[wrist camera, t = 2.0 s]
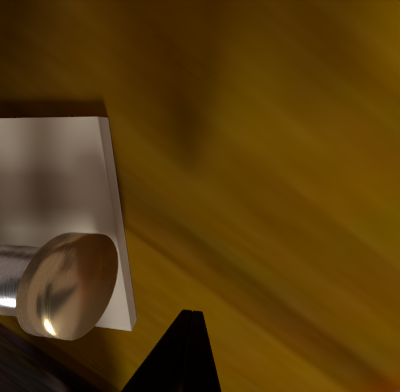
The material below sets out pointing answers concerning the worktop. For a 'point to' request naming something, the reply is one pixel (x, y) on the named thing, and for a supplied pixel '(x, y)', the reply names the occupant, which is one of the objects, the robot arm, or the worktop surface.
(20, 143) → the bearing block
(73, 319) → the shaft
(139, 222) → the worktop surface
